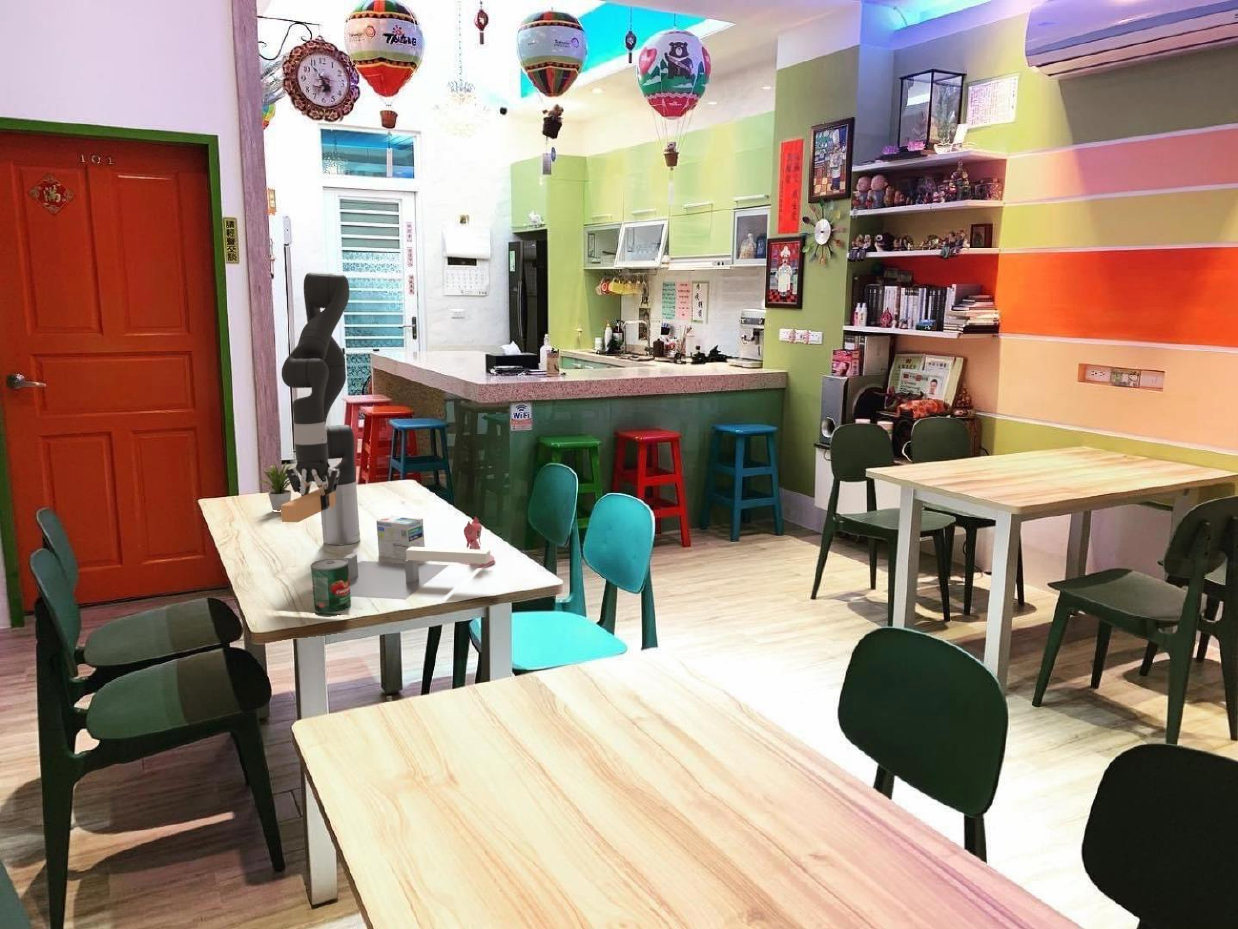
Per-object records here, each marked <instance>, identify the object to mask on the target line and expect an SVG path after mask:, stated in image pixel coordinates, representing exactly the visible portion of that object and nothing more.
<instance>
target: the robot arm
mask: <svg viewBox="0 0 1238 929" xmlns="http://www.w3.org/2000/svg"><path fill="white" fill-rule="evenodd" d="M349 298H350V284H349V279H348V278H347V276H346V275H344V274H340V273H336V272H335V273H333V272H318V271H317V272H314V271H312V272H311V271H310V272H307V273H306V274H305V276H304V279H303V299H304V306H305V308H304V309H305V314H306V322H307V323H306V324H305V325H304V327H303V328H302V330H301V333H300V336H299V339H298V342H297V345H296V347H294V349H293V350H292V352H290V354H289V355H288V357H286V359H285V360H284V362H283V364H282V367H281V378H282V381H283V383H284V385H285V386H287V387H288V388H292V389H311V392H310V395H308V396H303V397H300V398H297V399H295V400H293V402H292V412H293V415H292V416H293V423H294V424H293V425H294V426H293V437H294V438H293V439H294V451H295V458H296V459H295V460H296V464H295V466H294V467H290V468H289V469H287V470H286V473H287V474H286V475H287V476H288V478H287V479H288V480H289V481H288V482H290V483H291V484H290V486H291V488H292V490H293V492H294V493H299V494H300V495H301V496H304V495H306V494H308V493H310V492H311V491H310V490H311V486H312V483H315V484H316V487H318V488H317V489H319V490H320V493H321V496H320V499H321V509H322V510H323V511H321V512H320V515H321V528H322V530H321V531H322V539H323V544H328V545H333V546H343V545H351V544H354V543H357V542H360V541H361V533H360V520H359V518H360V517H359V506H358V505H359V504H358V492H357V478H356V476H357V474H356V465H355V464H356V461H355V460H356V459H355V455H356V454H355V435H354V430H353V428H352V427H351V426H350V425H348V424H339V425H336V424H335V425H327V426H326V424H327V419H328V415H329V412H330V410H331V409H332V406H333V404H334V402H336V400H337V398H338V396H339V394H341V391H342V390H343V389H344V386H345V384H346V380H347V371H346V357H345V354H344V352H343V350H342V348H341V347H340V345H339V344H338V343H337V341H336V340H335V338H334V337H333V333H334V331H335V329H336V327H337V325H338V323H339V322H340V319H341V318H342V315H343V314H344V313H345V310H346V308H347V306H348V303H349ZM321 309H323V310H322V311H321ZM334 459H336V460H337V459H341V461H339V463H338V464H337V465H335V466H333V467H331V465H330V464H329V460H334ZM298 472H299V473H298ZM299 475H300V476H301V478H299ZM334 491H335V501H336V505H333V506H331V507H329V505H330V503H329V494H330V493H332V492H334ZM301 496H300V497H301ZM328 507H329V508H328Z"/></svg>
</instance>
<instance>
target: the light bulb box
mask: <svg viewBox="0 0 1238 929" xmlns="http://www.w3.org/2000/svg"><path fill="white" fill-rule="evenodd" d="M375 523H376V533H377V534H376V536H377V547H378V556H380V557H383V558H384V557H386V558H393V559H399V560H407V558H406V550H407V549H408V548H410V547H426V545H425V532H424V519H423V518H418V517H408V516H398V515H389V516H387V517H383V518H380V519H377V520H376V522H375Z"/></svg>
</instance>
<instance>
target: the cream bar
mask: <svg viewBox="0 0 1238 929" xmlns="http://www.w3.org/2000/svg"><path fill="white" fill-rule="evenodd" d="M490 555H491V549H481V550H476V549H470V548H454V547H453V548H451V547H450V548H449V547H430V546H429V547H427V546H425V547H410V548H408V549H407V550H406V558H407V560H414V561H418V562H437V563H438V562H439V563H458V564H460V563H476V564H479V565H481V564H487V563H488V562H489V561H490Z"/></svg>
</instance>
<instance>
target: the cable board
mask: <svg viewBox="0 0 1238 929" xmlns="http://www.w3.org/2000/svg"><path fill="white" fill-rule="evenodd" d="M342 559H346V560H347V561H348V569H349V583H350V584H349V585H350V596H351V597H359V598H376V599H394V600H395V599H396V600H406V599H408V598H409V597H410V596H412V595H413V594H414V593H415V592H417V591H418V590H419V589H420V588H421V587H423V586H424V585H425V584H427V583H428V582H429V581H430V580H432V579H433V578H434V577H436V576H437V575H439V573H441V572H442V571H443V570H445V569H446V568H447V567H448V566H449V564H438V563H437V564H434V563H433V564H432V563H419V561H414V560H406V559H404V562H394V561H393V562H390V561H374V560H373V561H372V560H360V561H359V562H358V555H357V554H349V553H348V554H347V555H345V556H344V557H343V558H342ZM308 594H309V595H313V590H312V591H310V592H309V593H308Z"/></svg>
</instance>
